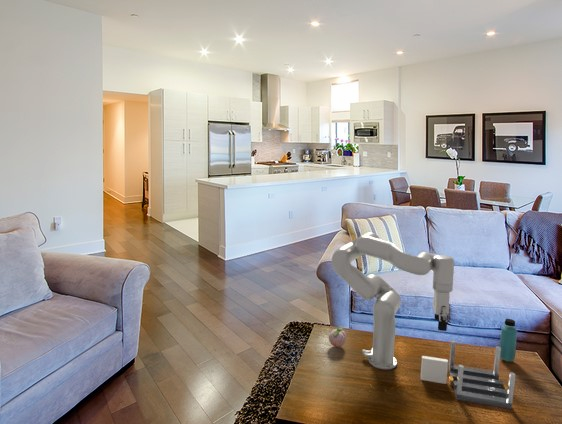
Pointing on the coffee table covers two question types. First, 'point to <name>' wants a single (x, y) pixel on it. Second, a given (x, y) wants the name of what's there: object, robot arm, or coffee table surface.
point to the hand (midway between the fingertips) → (440, 324)
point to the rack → (481, 383)
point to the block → (434, 369)
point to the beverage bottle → (508, 340)
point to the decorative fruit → (337, 337)
